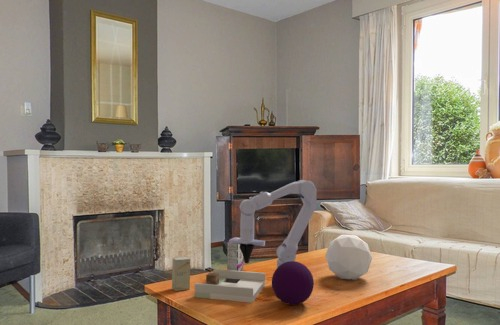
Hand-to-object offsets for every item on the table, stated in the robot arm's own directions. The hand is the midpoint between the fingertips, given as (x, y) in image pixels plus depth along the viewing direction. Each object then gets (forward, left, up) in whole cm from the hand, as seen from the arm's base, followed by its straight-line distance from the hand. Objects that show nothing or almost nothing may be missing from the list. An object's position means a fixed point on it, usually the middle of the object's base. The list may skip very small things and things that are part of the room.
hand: (246, 262), depth 170 cm
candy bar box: (+8, -11, -10) cm, 17 cm away
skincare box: (+24, +11, -10) cm, 28 cm away
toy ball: (-21, +16, -10) cm, 28 cm away
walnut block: (+12, +8, -7) cm, 16 cm away
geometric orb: (-40, -23, -10) cm, 47 cm away
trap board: (+4, +8, -9) cm, 13 cm away
